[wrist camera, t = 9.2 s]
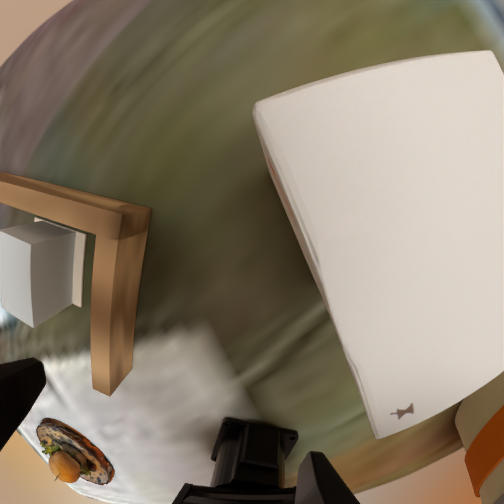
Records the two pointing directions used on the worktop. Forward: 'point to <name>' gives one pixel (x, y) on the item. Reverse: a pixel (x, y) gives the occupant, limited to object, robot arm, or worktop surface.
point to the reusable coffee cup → (484, 439)
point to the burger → (72, 454)
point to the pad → (76, 264)
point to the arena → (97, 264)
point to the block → (36, 270)
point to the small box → (401, 222)
